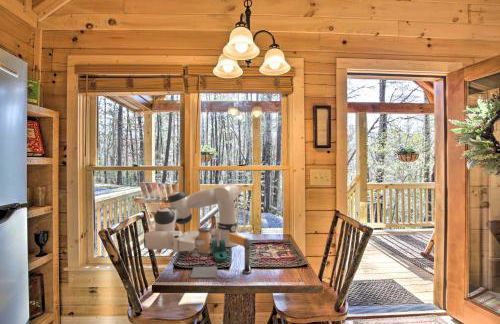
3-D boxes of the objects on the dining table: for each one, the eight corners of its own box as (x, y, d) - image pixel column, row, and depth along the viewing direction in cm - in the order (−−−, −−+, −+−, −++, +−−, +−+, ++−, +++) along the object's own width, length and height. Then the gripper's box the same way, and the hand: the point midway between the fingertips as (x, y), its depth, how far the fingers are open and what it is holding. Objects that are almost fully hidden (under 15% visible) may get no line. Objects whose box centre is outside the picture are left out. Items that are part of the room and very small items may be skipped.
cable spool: (195, 253, 138) (195, 228, 138) (205, 250, 143) (205, 226, 142) (202, 256, 134) (202, 231, 134) (212, 253, 138) (213, 229, 138)
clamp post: (240, 272, 140) (240, 247, 140) (247, 269, 143) (247, 245, 143) (246, 274, 137) (246, 249, 137) (253, 272, 140) (253, 247, 140)
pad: (190, 278, 132) (190, 277, 132) (193, 268, 144) (193, 267, 144) (215, 278, 133) (215, 276, 133) (217, 267, 145) (217, 266, 145)
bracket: (211, 252, 169) (211, 239, 169) (223, 251, 171) (223, 238, 171) (216, 263, 152) (216, 248, 152) (228, 262, 154) (228, 247, 154)
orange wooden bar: (251, 247, 140) (251, 239, 139) (246, 248, 137) (246, 240, 137) (232, 239, 151) (232, 232, 151) (227, 241, 149) (228, 233, 149)
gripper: (181, 240, 148) (207, 239, 149) (173, 253, 127) (204, 253, 128) (181, 228, 148) (208, 228, 149) (173, 239, 127) (204, 239, 128)
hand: (206, 239), depth 138 cm, fingers closed on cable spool, 5 cm apart
